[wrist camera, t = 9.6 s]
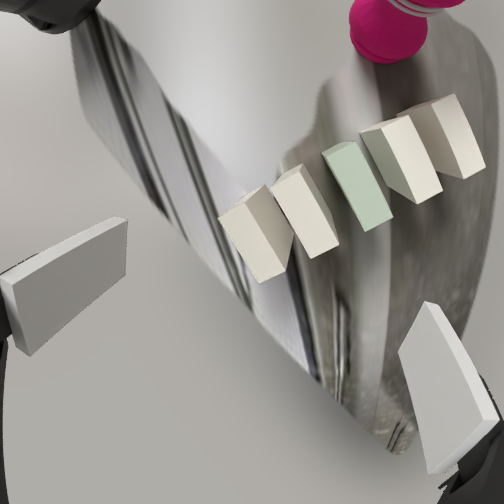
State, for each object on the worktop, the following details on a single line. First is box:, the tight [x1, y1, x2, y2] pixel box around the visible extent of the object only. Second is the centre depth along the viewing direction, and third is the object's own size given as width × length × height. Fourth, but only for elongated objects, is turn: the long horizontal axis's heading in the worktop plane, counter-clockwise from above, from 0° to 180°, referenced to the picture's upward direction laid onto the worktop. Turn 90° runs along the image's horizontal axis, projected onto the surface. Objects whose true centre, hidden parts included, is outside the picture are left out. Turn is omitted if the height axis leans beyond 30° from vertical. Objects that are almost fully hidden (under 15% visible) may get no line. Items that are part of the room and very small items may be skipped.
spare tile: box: [321, 141, 393, 232], centre depth 25 cm, size 6×2×10 cm, turn 31°
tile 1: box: [218, 185, 294, 284], centre depth 28 cm, size 6×2×10 cm, turn 31°
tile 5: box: [396, 94, 486, 179], centre depth 22 cm, size 6×2×10 cm, turn 31°
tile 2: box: [270, 163, 339, 259], centre depth 26 cm, size 6×2×10 cm, turn 31°
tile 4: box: [359, 115, 443, 204], centre depth 23 cm, size 6×2×10 cm, turn 31°
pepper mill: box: [349, 0, 465, 64], centre depth 14 cm, size 7×7×20 cm
